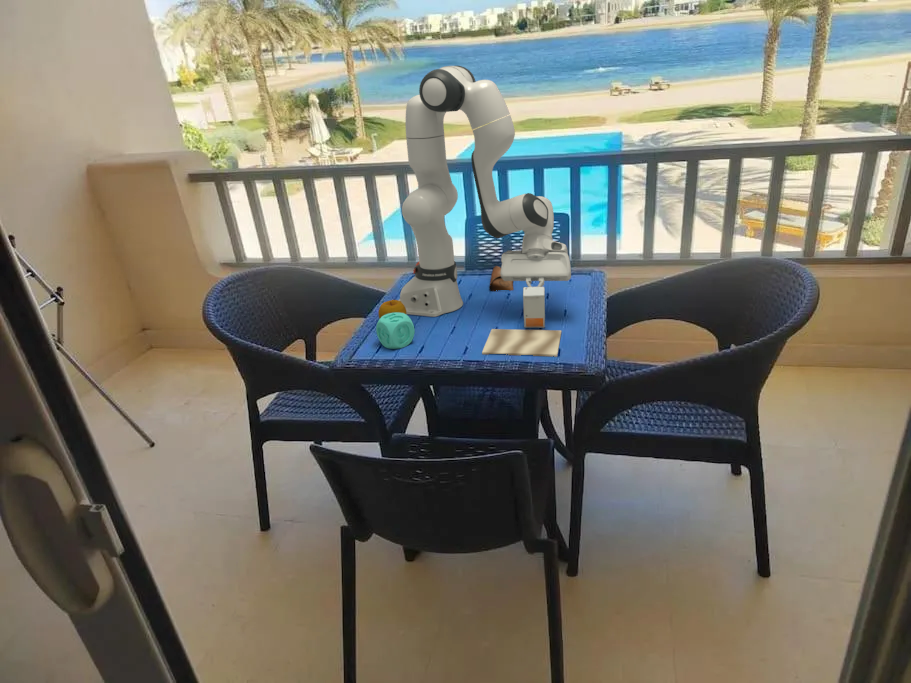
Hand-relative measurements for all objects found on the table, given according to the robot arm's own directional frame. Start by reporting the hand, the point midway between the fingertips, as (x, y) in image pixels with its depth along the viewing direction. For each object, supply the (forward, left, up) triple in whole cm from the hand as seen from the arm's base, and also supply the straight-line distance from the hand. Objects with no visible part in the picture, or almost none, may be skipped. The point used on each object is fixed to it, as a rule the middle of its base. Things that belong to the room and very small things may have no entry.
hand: (534, 293), depth 175 cm
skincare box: (0, 0, -10) cm, 10 cm away
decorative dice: (-38, -14, -10) cm, 42 cm away
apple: (-42, -4, -10) cm, 43 cm away
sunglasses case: (-15, +36, -11) cm, 41 cm away
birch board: (-2, -12, -10) cm, 16 cm away
